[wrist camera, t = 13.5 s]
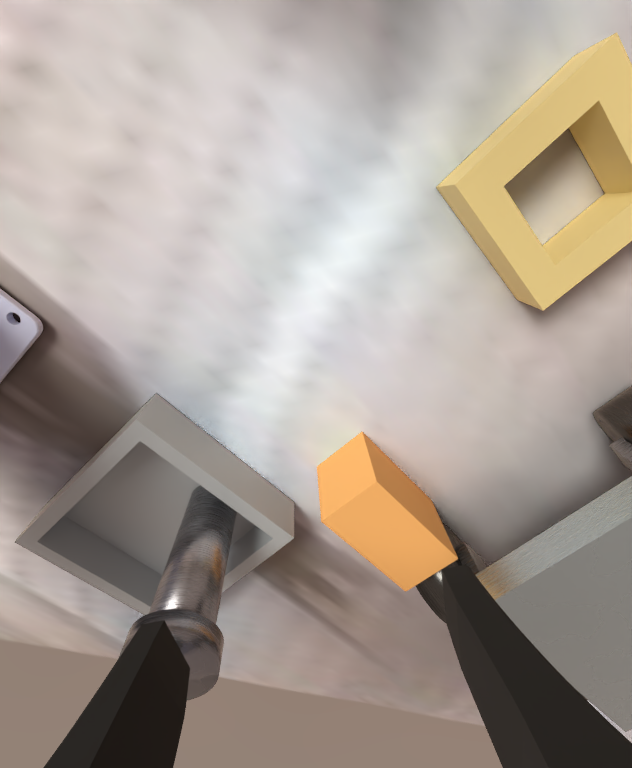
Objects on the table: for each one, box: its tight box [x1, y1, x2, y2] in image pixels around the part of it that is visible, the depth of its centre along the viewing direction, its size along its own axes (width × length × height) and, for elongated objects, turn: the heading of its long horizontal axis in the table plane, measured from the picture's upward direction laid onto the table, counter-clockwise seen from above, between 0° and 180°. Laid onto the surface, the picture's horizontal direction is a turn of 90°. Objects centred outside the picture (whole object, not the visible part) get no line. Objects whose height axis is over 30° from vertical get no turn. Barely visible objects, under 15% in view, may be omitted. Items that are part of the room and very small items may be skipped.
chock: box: [317, 432, 458, 591], centre depth 19 cm, size 6×3×4 cm, turn 42°
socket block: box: [436, 33, 632, 311], centre depth 15 cm, size 6×6×2 cm
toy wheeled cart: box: [416, 386, 632, 732], centre depth 20 cm, size 15×14×6 cm
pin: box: [119, 485, 237, 700], centre depth 16 cm, size 3×3×8 cm
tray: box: [15, 393, 294, 615], centre depth 20 cm, size 9×9×2 cm
